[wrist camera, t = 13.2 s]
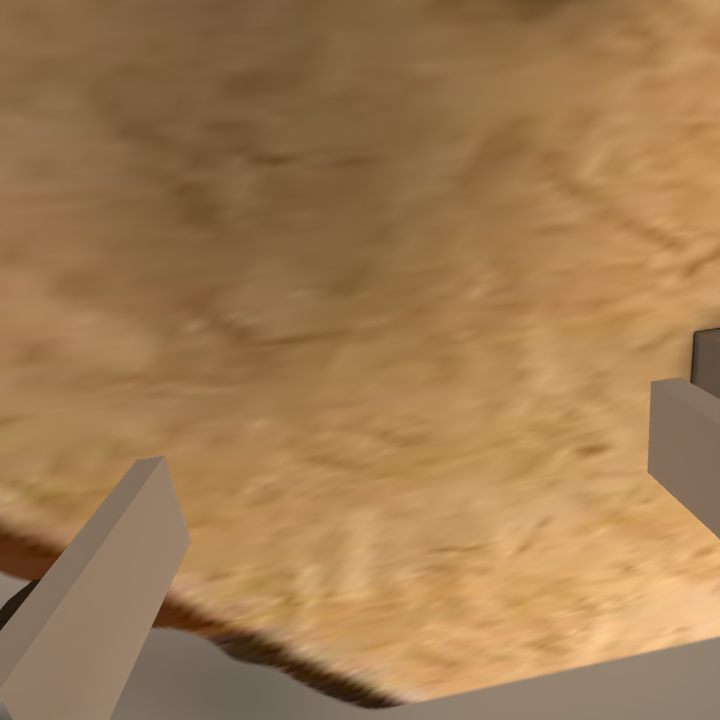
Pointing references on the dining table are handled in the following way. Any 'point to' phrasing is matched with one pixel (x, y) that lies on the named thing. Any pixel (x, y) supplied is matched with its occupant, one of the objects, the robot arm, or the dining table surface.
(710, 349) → the box with rectangular hole
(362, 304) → the dining table surface
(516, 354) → the dining table surface
